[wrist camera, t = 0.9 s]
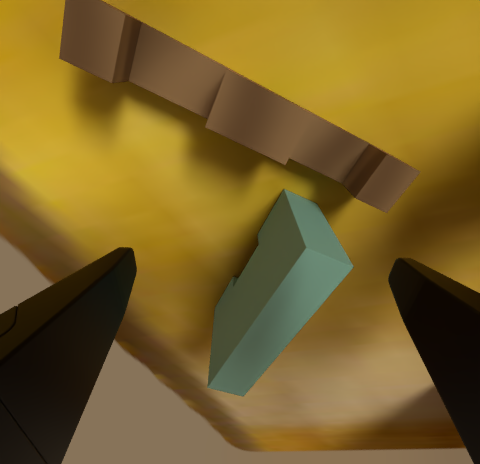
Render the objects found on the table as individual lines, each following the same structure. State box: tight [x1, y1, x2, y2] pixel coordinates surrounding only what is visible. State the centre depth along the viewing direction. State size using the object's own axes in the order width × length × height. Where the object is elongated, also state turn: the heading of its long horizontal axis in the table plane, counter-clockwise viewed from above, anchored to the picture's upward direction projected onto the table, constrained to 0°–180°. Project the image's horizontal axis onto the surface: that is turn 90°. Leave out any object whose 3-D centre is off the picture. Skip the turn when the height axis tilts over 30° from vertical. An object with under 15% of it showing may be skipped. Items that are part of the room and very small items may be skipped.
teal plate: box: [207, 189, 354, 397], centre depth 21 cm, size 14×3×8 cm, turn 155°
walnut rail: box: [59, 0, 420, 213], centre depth 16 cm, size 20×3×4 cm, turn 65°
